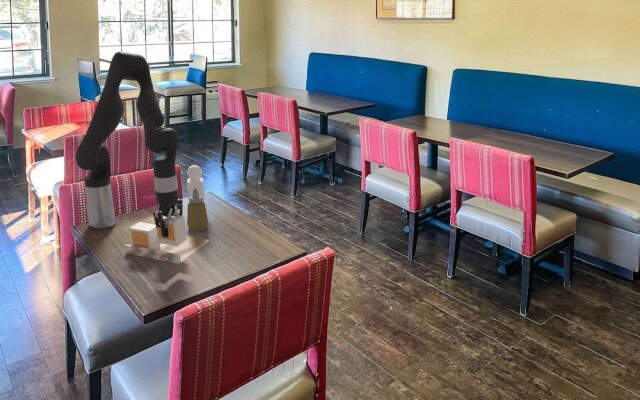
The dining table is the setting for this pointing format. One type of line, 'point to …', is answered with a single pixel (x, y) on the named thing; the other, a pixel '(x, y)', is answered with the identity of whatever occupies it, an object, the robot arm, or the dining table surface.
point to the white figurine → (195, 181)
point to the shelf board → (169, 250)
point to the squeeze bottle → (196, 213)
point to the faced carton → (144, 236)
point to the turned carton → (173, 231)
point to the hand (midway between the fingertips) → (170, 233)
